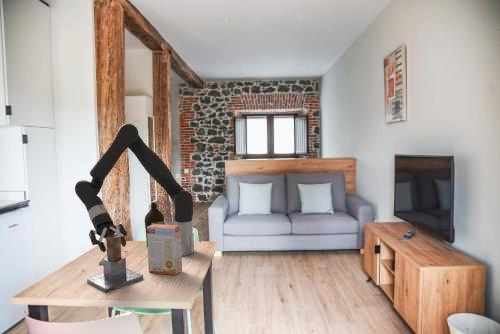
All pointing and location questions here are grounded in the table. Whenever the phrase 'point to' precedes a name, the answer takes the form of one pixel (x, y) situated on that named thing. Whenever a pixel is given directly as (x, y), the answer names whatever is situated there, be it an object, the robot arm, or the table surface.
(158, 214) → the olive oil
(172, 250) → the cracker box
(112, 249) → the post
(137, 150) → the robot arm
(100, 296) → the table surface
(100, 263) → the adjustable wrench
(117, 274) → the stand
